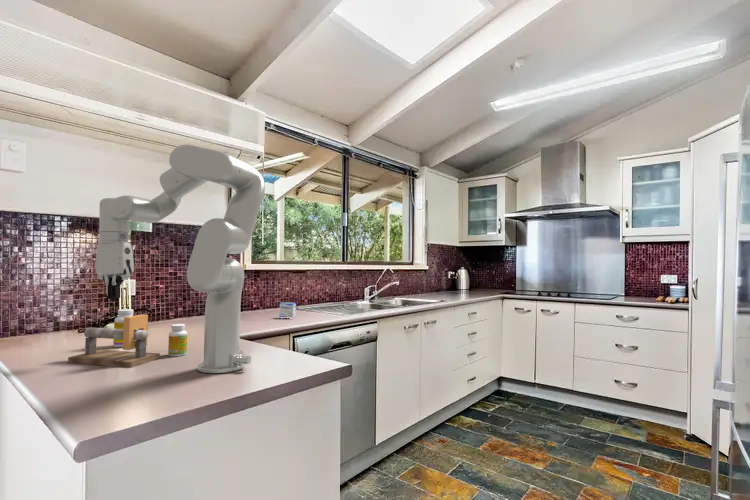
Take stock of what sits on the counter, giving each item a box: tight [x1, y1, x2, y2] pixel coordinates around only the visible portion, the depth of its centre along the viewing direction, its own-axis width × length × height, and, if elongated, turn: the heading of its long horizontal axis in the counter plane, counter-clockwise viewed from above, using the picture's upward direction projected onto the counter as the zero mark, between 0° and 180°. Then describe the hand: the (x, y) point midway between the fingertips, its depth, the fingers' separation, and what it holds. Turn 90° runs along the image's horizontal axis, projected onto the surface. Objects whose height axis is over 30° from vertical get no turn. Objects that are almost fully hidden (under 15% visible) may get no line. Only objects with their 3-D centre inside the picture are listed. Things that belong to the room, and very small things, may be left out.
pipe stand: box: [67, 327, 161, 368], centre depth 120 cm, size 22×11×10 cm, turn 78°
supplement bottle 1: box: [112, 308, 137, 349], centre depth 141 cm, size 7×7×13 cm
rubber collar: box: [122, 314, 149, 351], centre depth 119 cm, size 2×7×9 cm, turn 168°
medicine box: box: [278, 302, 297, 317], centre depth 215 cm, size 8×4×9 cm, turn 81°
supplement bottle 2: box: [167, 323, 188, 357], centre depth 129 cm, size 5×5×10 cm
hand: (113, 298), depth 121 cm, fingers closed
